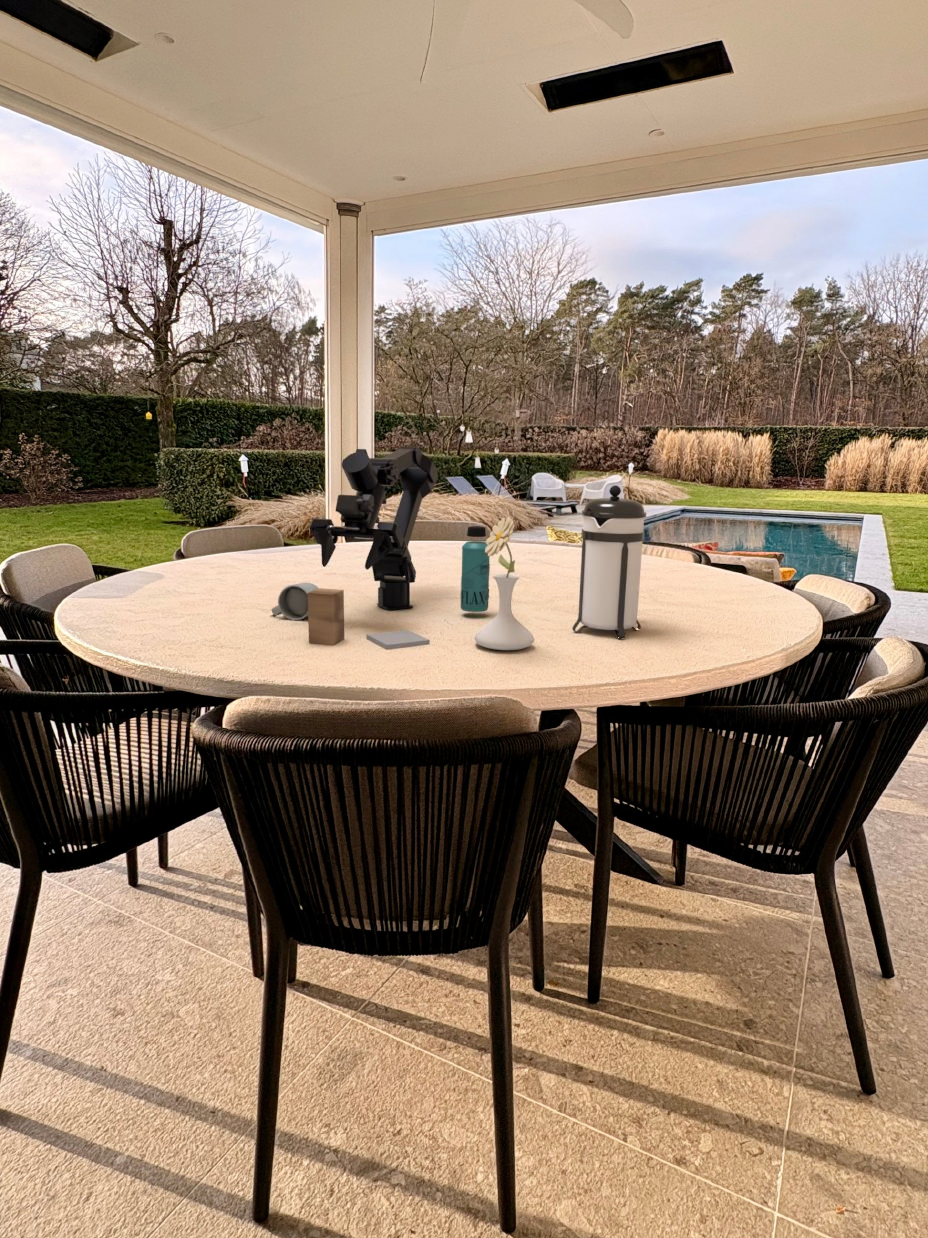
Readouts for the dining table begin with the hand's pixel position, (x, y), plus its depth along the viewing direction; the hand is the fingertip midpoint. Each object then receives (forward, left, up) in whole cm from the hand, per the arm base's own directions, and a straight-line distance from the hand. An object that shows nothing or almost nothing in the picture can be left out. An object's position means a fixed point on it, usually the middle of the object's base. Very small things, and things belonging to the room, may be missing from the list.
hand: (344, 566), depth 154 cm
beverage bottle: (-32, -2, -14) cm, 35 cm away
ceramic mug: (+4, -19, -14) cm, 24 cm away
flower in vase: (-22, +25, -14) cm, 36 cm away
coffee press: (-50, +22, -14) cm, 56 cm away
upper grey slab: (-6, +12, -13) cm, 19 cm away
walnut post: (+6, +6, -13) cm, 16 cm away
